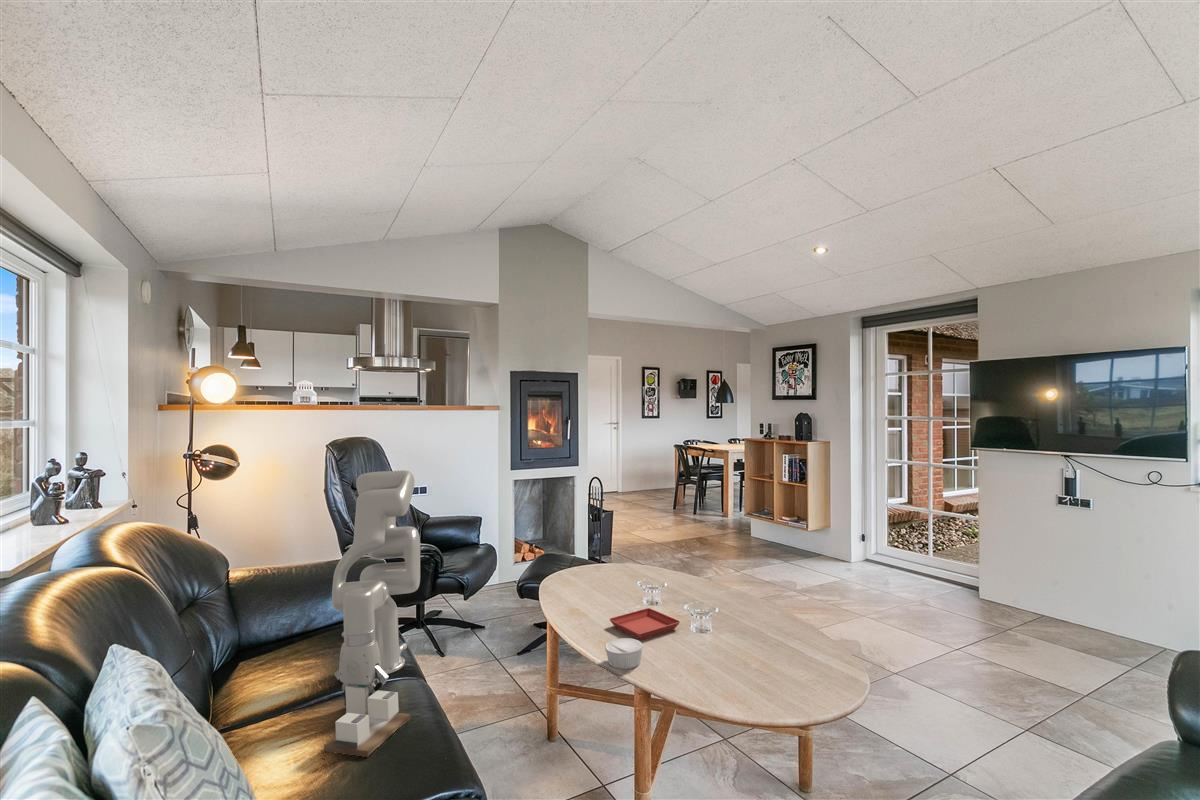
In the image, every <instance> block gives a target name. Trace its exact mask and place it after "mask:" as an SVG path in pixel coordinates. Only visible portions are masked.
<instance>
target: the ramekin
mask: <svg viewBox="0 0 1200 800" xmlns="http://www.w3.org/2000/svg"><path fill="white" fill-rule="evenodd" d="M643 646H644V645H643V643H642V642H641V641H640V640H639V639H636V638H630V637H628V638H627V637H623V638H622V637H620V638H615V639H612V640H610V641H608V642H607V643H606V644H605V646H604V650H605V652H606V656H607V661H608V663H609V665H610V666H611V667H613V668H615V669H618V670H629V669H633V668H636V667H637V666H639V664H640V663H641V661H642V653H643V652H642V651H643V649H644V648H643Z"/></svg>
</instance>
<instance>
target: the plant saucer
mask: <svg viewBox="0 0 1200 800" xmlns="http://www.w3.org/2000/svg"><path fill="white" fill-rule="evenodd" d="M609 621H610V623H611V624H612V625H613V626H614V627H615V628H616V627H617V628H616V629H618V630H620V631H622V632H624V633H626V634H628V635H629V636H632V637H634V639H636V640H638V641H640V640H641V641H642V640H645V639H648V638H652V637H654V636H658V635H661V634H664V633H668V632H671V631H674V629H676V628H677V627H678V625H679V624H680V623H681V621H680V620H678V619H676V618H674V617H671V616H669V615H666V614H664V613H661V612H659V611H657V610H655V609H653V608H650V607H649V608H647V607H646V608H643V609H640V610H636V611H632V612H629V613H625V614H621V615H618V616H614V617H611V618H609Z"/></svg>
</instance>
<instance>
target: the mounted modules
mask: <svg viewBox="0 0 1200 800" xmlns="http://www.w3.org/2000/svg"><path fill="white" fill-rule="evenodd" d="M367 702H368V715H363V714H355V713H346V712H345V714H344V715H342V716H341V717H340V718H338V719H337V720H336V721H335V723H334V724H335V736H336V740H339V741H347V742H354V743H357V746H358V745H359V744H361V743H362V742H363V741H364V740H365V739H367V738H368V737H369V736H370V732H369V718H377V719H385V720H389V719H390V718H392V717H393V716H394V715H395V714H396V713H398V712H399V713H400V707H399V693H398V691H397V692H396V691H395V692H394V691H389V690H388V691H387V690H381V689H380V690H378V691H376V692H375V693H373V694H372V695H371V696H369V697H368V698H367Z"/></svg>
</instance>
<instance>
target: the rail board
mask: <svg viewBox="0 0 1200 800" xmlns="http://www.w3.org/2000/svg"><path fill="white" fill-rule="evenodd" d="M363 715H368V711H367V712H366V713H365V714H363ZM409 720H410V721H411V714H410V713H404V712H403V713H402V712H400V711H399V712H398V713H396V714H395V715H394V716H393V717H392V718H390V719H389V720H385V719H377V718H369V732H370V736H369V737H368V738H367V739H365V740H364V741H363V742H362V743H361V744H359V745H358V746H357V743H354V742H347V741H339V740H336V735H335V736H333V737H332V738H330V740H328V741H327V742H326V743H325V744H323V751H326V753H331V752H334V753H333V754H338V753H345V754H355V755H363V756H369V755H370V754H371V753H372V752H373V751H374V750H375V749H376V748H377V747H379V746H380V745H381V744H382V743H383V742H384V741H385V740H386V739H387V738H388V737H389V736H390V735H391V734H392V733H394V732H395V731H396V730H397V729H398V728H399V727H401V726H402V725H403V724H405V723H406V722H407V721H409ZM410 721H409V722H410ZM335 752H336V753H335Z"/></svg>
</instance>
